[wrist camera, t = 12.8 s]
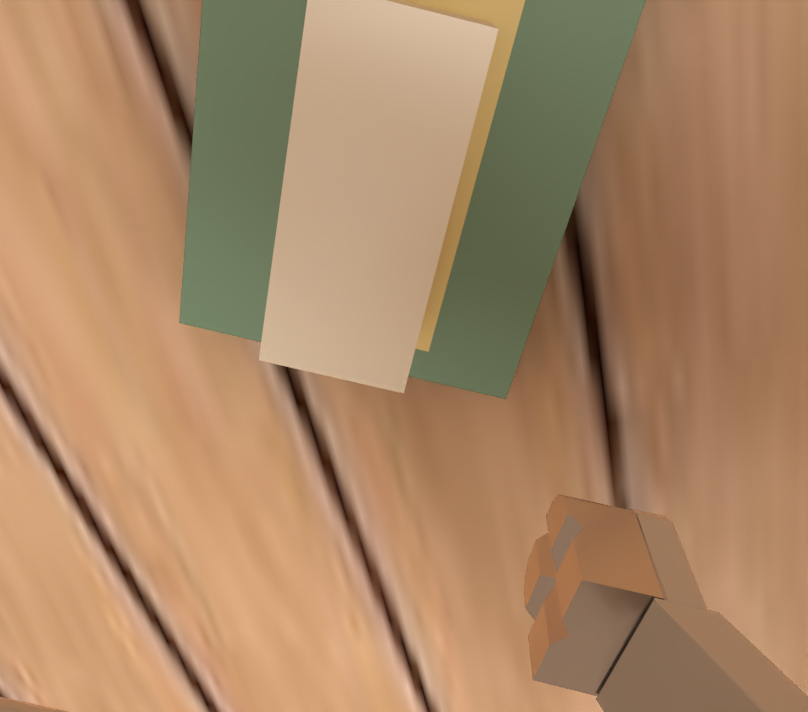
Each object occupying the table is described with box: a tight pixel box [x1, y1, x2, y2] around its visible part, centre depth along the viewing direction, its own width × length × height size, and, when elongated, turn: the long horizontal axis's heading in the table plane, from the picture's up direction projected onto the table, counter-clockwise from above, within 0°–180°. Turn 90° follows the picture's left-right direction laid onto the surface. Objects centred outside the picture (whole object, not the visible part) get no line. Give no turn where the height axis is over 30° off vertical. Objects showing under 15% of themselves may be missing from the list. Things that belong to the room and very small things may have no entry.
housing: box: [259, 0, 499, 393], centre depth 22 cm, size 5×11×5 cm, turn 168°
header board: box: [179, 0, 646, 399], centre depth 24 cm, size 14×16×5 cm
